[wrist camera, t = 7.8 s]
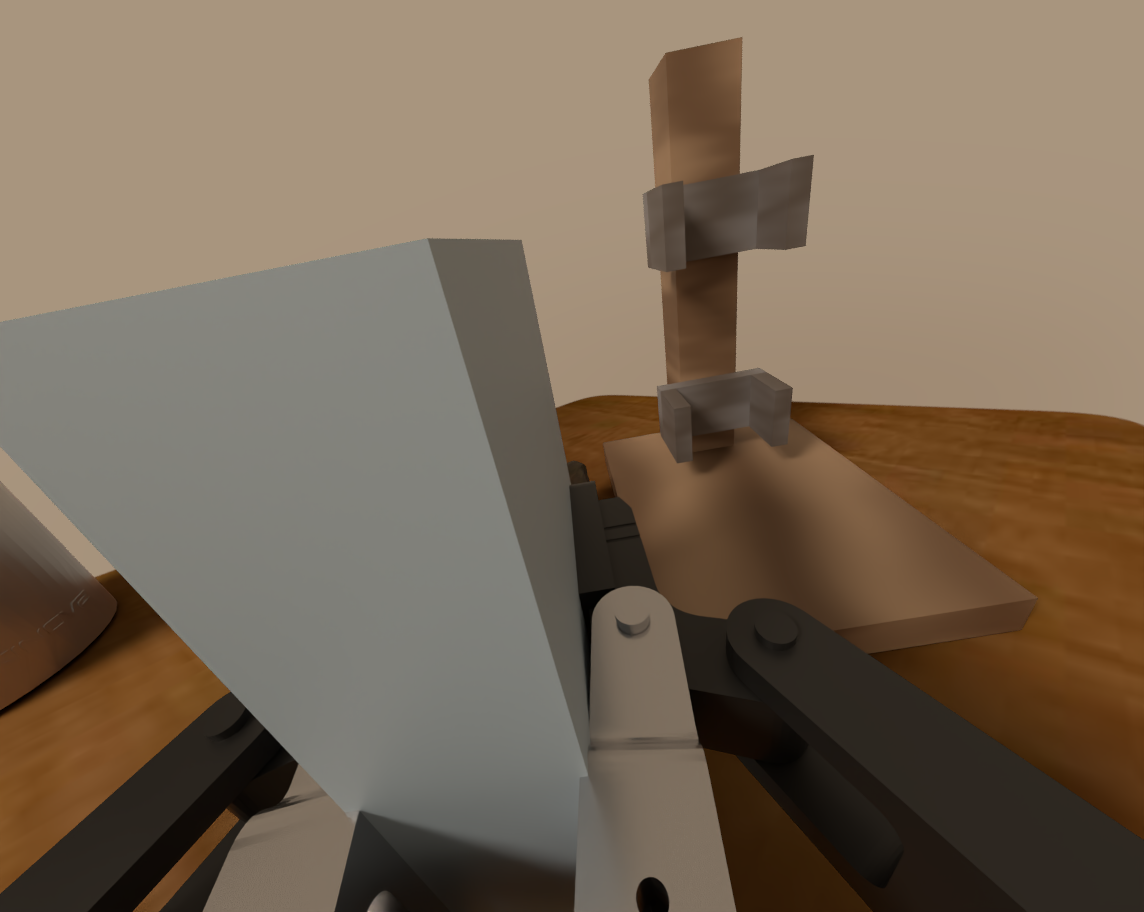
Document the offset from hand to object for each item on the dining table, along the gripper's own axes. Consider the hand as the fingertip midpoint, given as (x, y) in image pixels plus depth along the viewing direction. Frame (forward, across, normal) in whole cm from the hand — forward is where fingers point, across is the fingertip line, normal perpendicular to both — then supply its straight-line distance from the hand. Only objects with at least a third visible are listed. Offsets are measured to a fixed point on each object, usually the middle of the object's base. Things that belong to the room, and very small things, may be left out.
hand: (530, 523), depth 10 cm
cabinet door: (-3, 0, -8) cm, 8 cm away
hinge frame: (+8, +9, -8) cm, 14 cm away
